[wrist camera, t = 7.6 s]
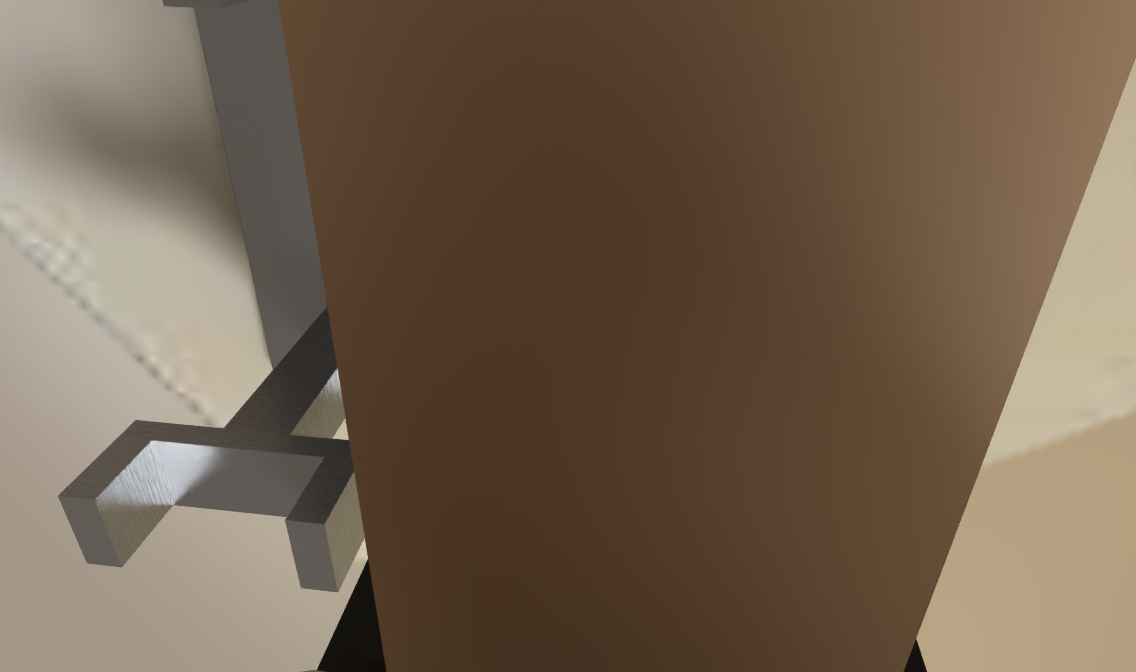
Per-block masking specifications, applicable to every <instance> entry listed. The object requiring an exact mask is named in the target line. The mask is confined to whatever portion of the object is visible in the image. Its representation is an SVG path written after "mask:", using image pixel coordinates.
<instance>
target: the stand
mask: <svg viewBox="0 0 1136 672" xmlns="http://www.w3.org/2000/svg"><path fill="white" fill-rule="evenodd" d="M163 4H164V6H174V7H194V9H195V14H196V18H197V23H198V28H199V32H200V37H201V41H202V46H203V51H204V55H205V60H206V64H207V69H208V74H209V78H210V83H211V87H212V92H213V97H214V101H215V106H216V111H217V115H218V120H219V124H220V129H221V134H222V138H223V143H224V147H225V152H226V157H227V161H228V166H229V170H230V175H231V180H232V184H233V189H234V193H235V198H236V203H237V207H238V212H239V217H240V221H241V226H242V230H243V235H244V240H245V244H246V249H247V253H248V258H249V263H250V267H251V272H252V276H253V281H254V286H255V290H256V295H257V300H258V304H259V309H260V313H261V318H262V323H263V327H264V332H265V336H266V341H267V346H268V350H269V355H270V359H271V364H272V369H273V371H272V372H271V373H270V374H269V376H268V377H267V378H266V379H265V380H264V381H263V383H262V384H261V385H260V386H259V387H258V388H257V390H256V391H255V392H254V393H253V394H252V396H251V397H250V398H249V399H248V400H247V401H246V403H245V404H244V405H243V406H242V407H241V409H240V410H239V411H238V412H237V413H236V414H235V416H234V417H233V418H232V419H231V420H230V422H229V423H228V424H227V425H226V426H225V427H224V428H214V427H203V426H193V425H182V424H171V423H160V422H150V421H140V420H135V421H134V422H133V423H132V424H131V425H130V426H129V427H128V428H127V429H126V430H125V431H124V432H123V433H122V434H121V435H120V436H119V437H118V438H117V439H116V440H115V441H114V442H113V443H112V444H111V445H110V446H109V447H108V448H107V449H106V450H105V451H104V452H103V453H102V454H101V455H99V456H98V457H97V459H95V460H94V461H93V462H92V463H91V464H90V465H89V466H88V467H87V468H86V469H85V470H84V471H83V472H82V473H81V474H80V475H79V476H78V477H77V478H76V479H75V480H74V481H73V482H72V483H71V484H70V485H69V486H68V487H67V488H66V489H65V490H64V491H63V492H61V493H60V495H59V496H58V497H59V500H60V502H61V504H62V506H63V509H64V511H65V513H66V516H67V518H68V520H69V523H70V525H71V527H72V530H73V532H74V534H75V536H76V539H77V541H78V543H79V546H80V548H81V550H82V553H83V555H84V557H85V560H86V562H87V563H89V564H98V565H106V566H115V567H122V566H123V565H124V564H125V563H126V562H127V560H128V559H129V558H130V557H131V556H132V554H133V553H134V552H135V551H136V550H137V548H138V547H139V546H140V545H141V544H142V542H143V541H144V540H145V539H146V537H147V536H148V535H149V534H150V533H151V531H152V530H153V529H154V528H155V527H156V525H157V524H158V523H159V522H160V520H161V519H162V518H163V517H164V515H165V514H166V513H167V512H168V511H169V510H170V508H171V507H172V506H173V505H178V506H188V507H197V508H207V509H216V510H226V511H236V512H244V513H255V514H263V515H274V516H282V517H287V518H286V520H285V522H286V526H287V530H288V534H289V539H290V543H291V547H292V552H293V556H294V560H295V564H296V568H297V572H298V577H299V581H300V586H301V588H306V589H315V590H323V591H331V592H338V591H339V589H340V587H341V585H342V583H343V581H344V579H345V577H346V574H347V573H348V570H349V568H350V566H351V564H352V562H353V560H354V558H355V556H356V554H357V552H358V550H359V548H360V546H361V544H362V542H363V540H364V538H365V536H364V529H363V523H362V517H361V511H360V505H359V499H358V492H357V486H356V480H355V474H354V468H353V461H352V455H351V449H350V443H349V440H340V439H332V438H333V436H334V435H335V433H336V432H337V430H338V428H339V427H340V425H341V424H342V422H343V421H344V419H345V412H344V406H343V400H342V394H341V387H340V381H339V375H338V369H337V363H336V357H335V350H334V344H333V338H332V332H331V326H330V319H329V313H328V307H327V301H326V295H325V289H324V282H323V276H322V270H321V264H320V258H319V252H318V245H317V239H316V233H315V227H314V221H313V214H312V208H311V202H310V196H309V190H308V184H307V177H306V171H305V165H304V159H303V153H302V147H301V140H300V134H299V128H298V122H297V116H296V109H295V103H294V97H293V91H292V85H291V79H290V72H289V66H288V60H287V54H286V48H285V42H284V35H283V29H282V23H281V17H280V11H279V4H278V0H163Z"/></svg>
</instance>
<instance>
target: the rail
mask: <svg viewBox="0 0 1136 672" xmlns="http://www.w3.org/2000/svg"><path fill="white" fill-rule="evenodd" d="M278 4H279V11H280V17H281V23H282V29H283V35H284V42H285V48H286V54H287V60H288V66H289V72H290V79H291V85H292V91H293V97H294V103H295V109H296V116H297V122H298V128H299V134H300V140H301V147H302V153H303V159H304V165H305V171H306V177H307V184H308V190H309V196H310V202H311V208H312V214H313V221H314V227H315V233H316V239H317V245H318V252H319V258H320V264H321V270H322V276H323V282H324V289H325V295H326V301H327V307H328V313H329V319H330V326H331V332H332V338H333V344H334V350H335V357H336V363H337V369H338V375H339V381H340V387H341V394H342V400H343V406H344V412H345V418H346V424H347V431H348V437H349V443H350V449H351V455H352V461H353V468H354V474H355V480H356V486H357V492H358V499H359V505H360V511H361V517H362V523H363V529H364V536H365V542H366V548H367V554H368V560H369V566H370V573H371V579H372V585H373V591H374V597H375V604H376V610H377V616H378V622H379V628H380V634H381V641H382V647H383V653H384V659H385V665H386V671H387V672H904V669H905V666H906V664H907V661H908V658H909V656H910V653H911V650H912V648H913V645H914V643H915V640H916V637H917V634H918V632H919V629H920V627H921V624H922V621H923V619H924V616H925V613H926V611H927V608H928V605H929V603H930V600H931V598H932V595H933V592H934V589H935V587H936V584H937V582H938V579H939V576H940V574H941V571H942V568H943V566H944V563H945V560H946V558H947V555H948V553H949V550H950V547H951V545H952V542H953V539H954V537H955V534H956V531H957V529H958V526H959V523H960V521H961V518H962V516H963V513H964V510H965V508H966V505H967V502H968V500H969V497H970V494H971V492H972V489H973V486H974V484H975V481H976V479H977V476H978V473H979V471H980V468H981V465H982V463H983V460H984V457H985V455H986V452H987V449H988V447H989V444H990V441H991V439H992V436H993V434H994V431H995V428H996V426H997V423H998V420H999V418H1000V415H1001V412H1002V410H1003V407H1004V404H1005V402H1006V399H1007V397H1008V394H1009V391H1010V389H1011V386H1012V383H1013V381H1014V378H1015V375H1016V373H1017V370H1018V367H1019V365H1020V362H1021V359H1022V357H1023V354H1024V352H1025V349H1026V346H1027V344H1028V341H1029V338H1030V336H1031V333H1032V330H1033V328H1034V325H1035V322H1036V320H1037V317H1038V315H1039V312H1040V309H1041V307H1042V304H1043V301H1044V299H1045V296H1046V293H1047V291H1048V288H1049V285H1050V283H1051V280H1052V277H1053V275H1054V272H1055V270H1056V267H1057V264H1058V262H1059V259H1060V256H1061V254H1062V251H1063V248H1064V246H1065V243H1066V240H1067V238H1068V235H1069V233H1070V230H1071V227H1072V225H1073V222H1074V219H1075V217H1076V214H1077V211H1078V209H1079V206H1080V203H1081V201H1082V198H1083V195H1084V193H1085V190H1086V188H1087V185H1088V182H1089V180H1090V177H1091V174H1092V172H1093V169H1094V166H1095V164H1096V161H1097V158H1098V156H1099V153H1100V151H1101V148H1102V145H1103V143H1104V140H1105V137H1106V135H1107V132H1108V129H1109V127H1110V124H1111V121H1112V119H1113V116H1114V113H1115V111H1116V108H1117V106H1118V103H1119V100H1120V98H1121V95H1122V92H1123V90H1124V87H1125V84H1126V82H1127V79H1128V76H1129V74H1130V71H1131V69H1132V66H1133V63H1134V61H1135V58H1136V0H278Z"/></svg>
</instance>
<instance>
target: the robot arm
mask: <svg viewBox="0 0 1136 672" xmlns="http://www.w3.org/2000/svg"><path fill="white" fill-rule="evenodd" d="M304 672H387V671H386V665H385V659H384V653H383V647H382V641H381V634H380V628H379V622H378V616H377V610H376V604H375V597H374V591H373V585H372V579H371V573H370V566H369V560H367V562H366V564H365V566H364V569H363V571H362V573H361V575H360V578H359V580H358V582H357V584H356V586H355V588H354V590H353V593H352V595H351V597H350V599H349V601H348V604H347V606H346V608H345V610H344V612H343V615H342V616H341V619H340V621H339V623H338V625H337V628H336V629H335V632H334V634H333V636H332V638H331V640H330V643H329V645H328V647H327V649H326V652H325V653H324V656H323V658H322V660H321V662H320V664H319V666H318V669H317V670H311V671H304ZM904 672H927V670H926V667H925V664H924V661H923V658H922V655H921V652H920V649H919V646H918V643H917V640H915V643H914V645H913V648H912V650H911V653H910V656H909V658H908V661H907V664H906V666H905V669H904Z"/></svg>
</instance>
